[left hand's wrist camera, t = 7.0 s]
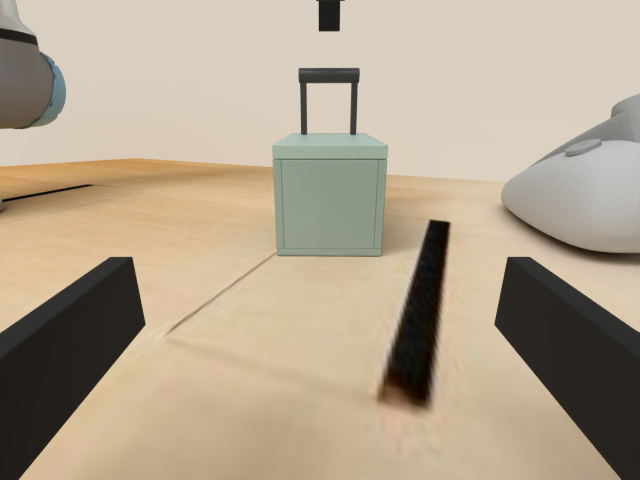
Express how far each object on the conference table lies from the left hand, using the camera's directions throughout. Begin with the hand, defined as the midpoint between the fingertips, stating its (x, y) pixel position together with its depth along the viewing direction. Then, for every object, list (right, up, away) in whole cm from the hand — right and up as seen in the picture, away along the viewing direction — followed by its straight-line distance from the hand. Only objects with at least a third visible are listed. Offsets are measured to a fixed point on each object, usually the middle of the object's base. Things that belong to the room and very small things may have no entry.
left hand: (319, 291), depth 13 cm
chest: (+1, +3, +29) cm, 29 cm away
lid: (+1, +12, +26) cm, 29 cm away
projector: (+30, +3, +28) cm, 41 cm away
